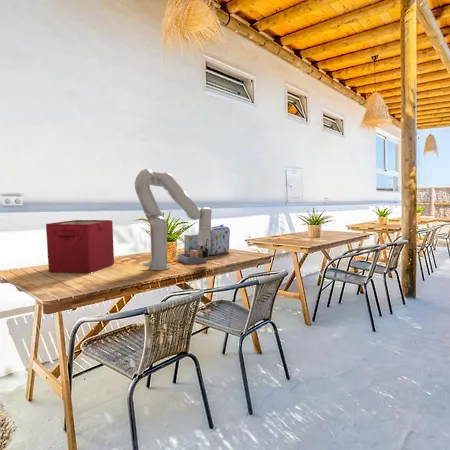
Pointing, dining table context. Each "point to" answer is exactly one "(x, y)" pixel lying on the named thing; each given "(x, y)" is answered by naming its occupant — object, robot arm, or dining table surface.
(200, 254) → the walnut cube
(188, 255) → the tote
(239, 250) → the dining table surface
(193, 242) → the snack box
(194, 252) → the terracotta cylinder
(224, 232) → the lunch box
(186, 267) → the dining table surface
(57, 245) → the storage cube
